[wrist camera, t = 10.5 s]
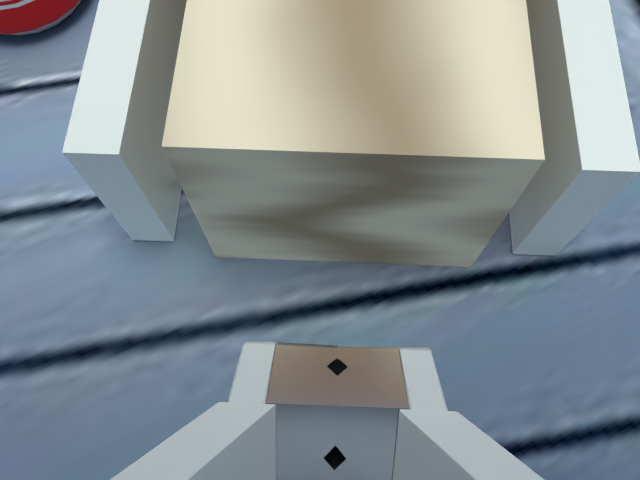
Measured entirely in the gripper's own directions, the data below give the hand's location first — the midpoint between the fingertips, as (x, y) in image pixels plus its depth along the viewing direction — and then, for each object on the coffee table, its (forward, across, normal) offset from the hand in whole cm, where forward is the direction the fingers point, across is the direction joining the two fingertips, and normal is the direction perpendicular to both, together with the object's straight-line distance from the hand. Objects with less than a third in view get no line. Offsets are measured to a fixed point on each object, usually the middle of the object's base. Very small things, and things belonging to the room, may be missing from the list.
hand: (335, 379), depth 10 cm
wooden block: (+15, 0, -1) cm, 15 cm away
